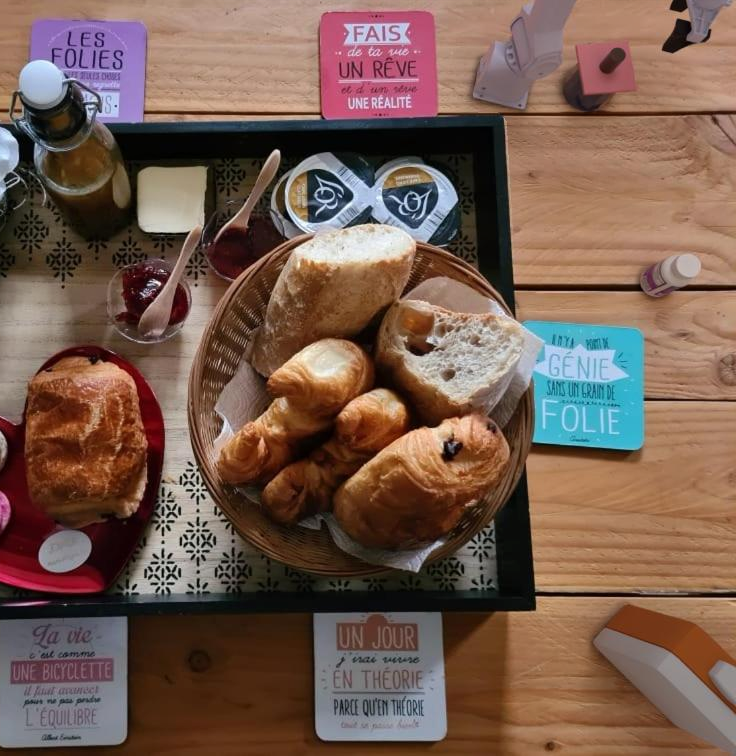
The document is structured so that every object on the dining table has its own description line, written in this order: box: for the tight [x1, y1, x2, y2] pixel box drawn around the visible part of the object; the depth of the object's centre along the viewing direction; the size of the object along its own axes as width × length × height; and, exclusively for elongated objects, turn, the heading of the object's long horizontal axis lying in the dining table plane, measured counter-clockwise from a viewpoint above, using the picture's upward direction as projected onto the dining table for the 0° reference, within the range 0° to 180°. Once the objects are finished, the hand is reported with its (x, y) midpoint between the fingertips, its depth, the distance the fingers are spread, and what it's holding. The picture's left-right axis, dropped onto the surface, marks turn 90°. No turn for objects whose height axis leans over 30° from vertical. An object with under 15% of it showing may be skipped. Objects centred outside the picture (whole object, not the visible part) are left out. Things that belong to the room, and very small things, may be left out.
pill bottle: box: [639, 253, 702, 298], centre depth 121 cm, size 5×5×10 cm
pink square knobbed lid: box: [574, 40, 638, 95], centre depth 122 cm, size 9×9×4 cm
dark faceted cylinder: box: [562, 62, 617, 112], centre depth 128 cm, size 8×8×6 cm
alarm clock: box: [592, 603, 736, 756], centre depth 106 cm, size 18×9×21 cm, turn 45°
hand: (671, 29), depth 121 cm, fingers open, 7 cm apart
